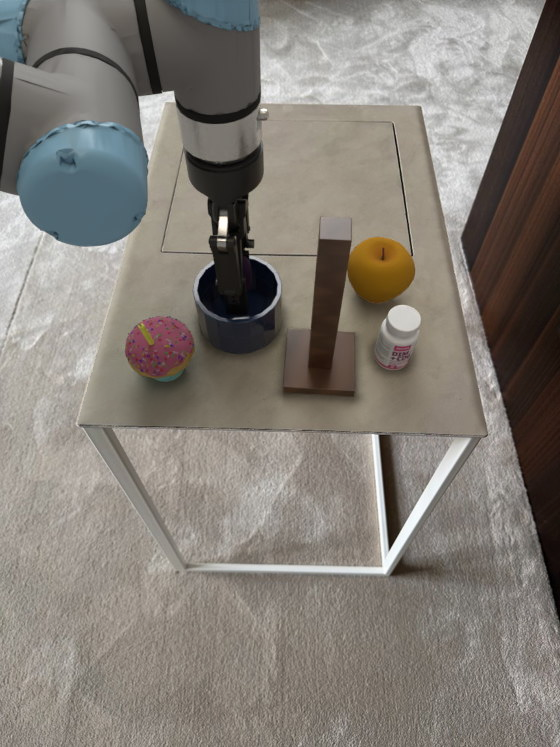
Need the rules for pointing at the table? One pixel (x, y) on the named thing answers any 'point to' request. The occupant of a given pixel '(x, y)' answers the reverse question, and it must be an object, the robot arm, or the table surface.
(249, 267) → the purple plum
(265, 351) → the table surface
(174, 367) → the cupcake
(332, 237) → the stand
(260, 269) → the pot
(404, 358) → the pill bottle
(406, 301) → the table surface
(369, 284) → the apple
